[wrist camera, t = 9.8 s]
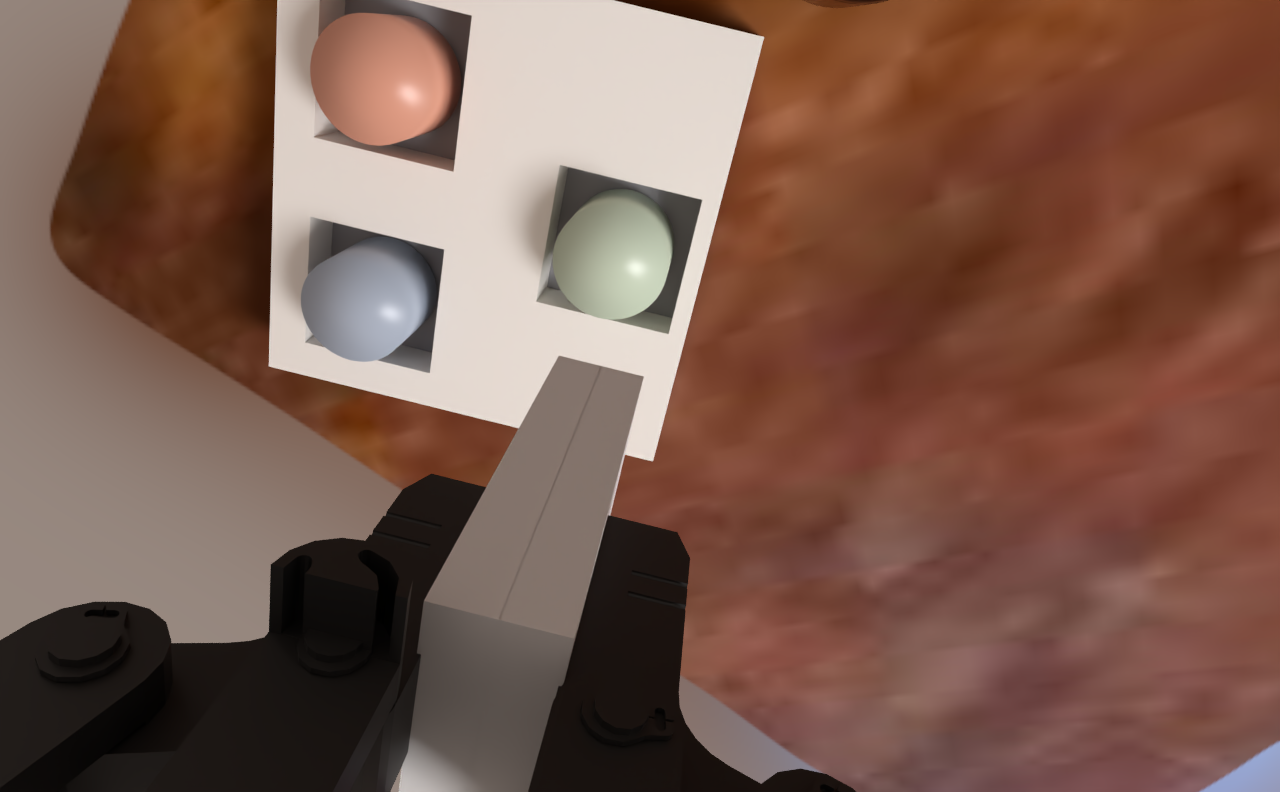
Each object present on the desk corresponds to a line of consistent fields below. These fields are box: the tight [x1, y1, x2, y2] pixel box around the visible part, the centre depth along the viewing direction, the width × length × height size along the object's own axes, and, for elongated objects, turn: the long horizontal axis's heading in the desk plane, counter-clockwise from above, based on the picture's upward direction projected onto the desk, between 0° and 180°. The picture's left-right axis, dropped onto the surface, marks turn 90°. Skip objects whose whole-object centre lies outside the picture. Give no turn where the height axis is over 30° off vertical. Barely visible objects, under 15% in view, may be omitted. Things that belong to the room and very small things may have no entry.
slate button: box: [301, 236, 437, 362], centre depth 38 cm, size 5×5×4 cm
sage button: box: [553, 189, 674, 320], centre depth 36 cm, size 5×5×4 cm
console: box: [269, 0, 764, 461], centre depth 38 cm, size 20×20×3 cm
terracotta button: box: [310, 13, 461, 146], centre depth 34 cm, size 5×5×4 cm
